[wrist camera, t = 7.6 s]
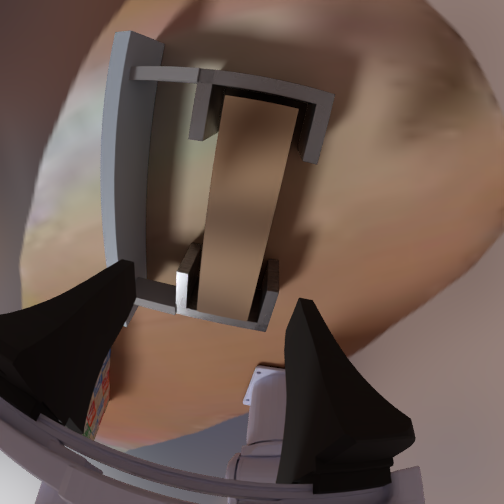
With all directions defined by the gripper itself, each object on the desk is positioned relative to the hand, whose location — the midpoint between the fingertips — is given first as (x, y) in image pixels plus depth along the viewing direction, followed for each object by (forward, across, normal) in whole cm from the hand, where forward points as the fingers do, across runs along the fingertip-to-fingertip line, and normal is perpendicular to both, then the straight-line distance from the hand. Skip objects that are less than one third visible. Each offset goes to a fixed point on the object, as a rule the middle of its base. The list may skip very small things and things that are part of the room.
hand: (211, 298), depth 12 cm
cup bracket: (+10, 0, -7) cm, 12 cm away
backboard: (+10, +6, -1) cm, 11 cm away
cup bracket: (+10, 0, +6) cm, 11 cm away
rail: (+10, 0, -1) cm, 10 cm away
